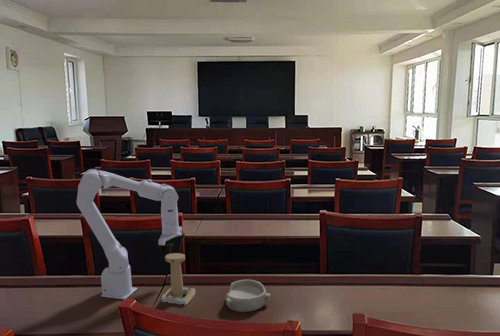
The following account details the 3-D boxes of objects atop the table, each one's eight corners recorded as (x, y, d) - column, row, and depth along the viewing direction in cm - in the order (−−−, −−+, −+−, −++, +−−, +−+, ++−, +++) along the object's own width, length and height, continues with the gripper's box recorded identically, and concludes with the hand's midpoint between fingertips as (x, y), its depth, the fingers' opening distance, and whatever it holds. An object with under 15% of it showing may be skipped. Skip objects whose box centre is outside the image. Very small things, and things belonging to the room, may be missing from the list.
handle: (184, 302, 135) (181, 259, 132) (165, 301, 136) (163, 258, 133) (189, 295, 139) (186, 253, 137) (171, 294, 140) (168, 252, 138)
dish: (227, 316, 126) (226, 301, 125) (222, 294, 140) (222, 281, 139) (273, 311, 128) (272, 296, 128) (264, 290, 142) (264, 277, 141)
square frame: (162, 301, 135) (161, 295, 135) (172, 291, 143) (172, 285, 142) (186, 305, 133) (185, 298, 133) (195, 293, 140) (195, 288, 140)
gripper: (171, 227, 135) (173, 266, 138) (189, 215, 149) (190, 250, 151) (151, 226, 137) (154, 264, 139) (171, 214, 151) (173, 249, 153)
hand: (172, 257), depth 146 cm, fingers open, 7 cm apart
